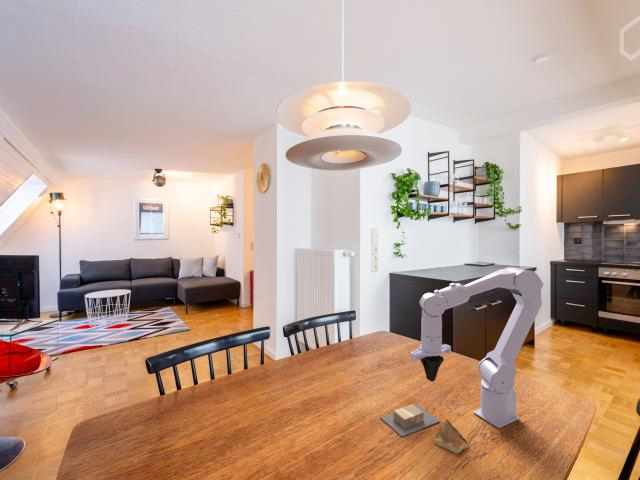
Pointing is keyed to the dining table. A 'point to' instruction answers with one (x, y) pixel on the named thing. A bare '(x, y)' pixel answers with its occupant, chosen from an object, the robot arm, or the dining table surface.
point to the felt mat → (403, 431)
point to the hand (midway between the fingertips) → (430, 379)
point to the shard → (450, 438)
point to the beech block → (408, 416)
